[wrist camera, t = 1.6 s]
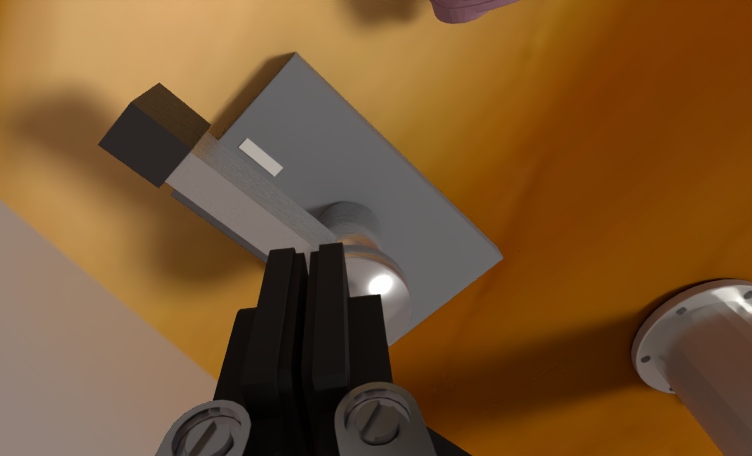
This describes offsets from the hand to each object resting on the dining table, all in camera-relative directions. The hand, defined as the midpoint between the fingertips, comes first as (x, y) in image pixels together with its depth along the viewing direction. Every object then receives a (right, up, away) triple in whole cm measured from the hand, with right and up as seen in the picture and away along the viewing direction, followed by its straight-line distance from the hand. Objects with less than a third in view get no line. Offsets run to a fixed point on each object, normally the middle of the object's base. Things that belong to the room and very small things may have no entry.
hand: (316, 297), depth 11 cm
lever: (-4, +5, +19) cm, 20 cm away
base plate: (-1, +2, +22) cm, 23 cm away
